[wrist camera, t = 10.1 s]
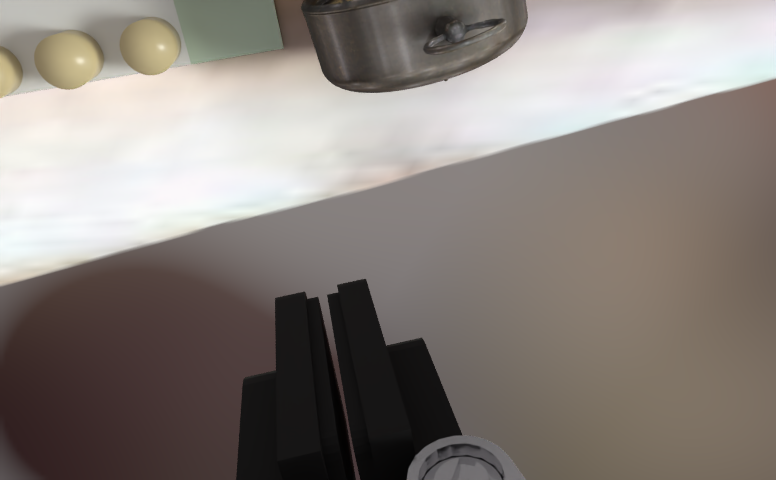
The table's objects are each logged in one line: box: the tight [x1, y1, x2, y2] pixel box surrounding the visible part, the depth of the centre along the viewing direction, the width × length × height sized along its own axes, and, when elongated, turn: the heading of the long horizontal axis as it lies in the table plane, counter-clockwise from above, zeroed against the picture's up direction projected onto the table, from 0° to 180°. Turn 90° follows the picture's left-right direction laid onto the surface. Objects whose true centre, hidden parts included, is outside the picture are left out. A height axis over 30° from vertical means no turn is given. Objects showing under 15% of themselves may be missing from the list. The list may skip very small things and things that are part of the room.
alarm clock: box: [301, 0, 528, 93], centre depth 29 cm, size 11×5×16 cm, turn 106°
